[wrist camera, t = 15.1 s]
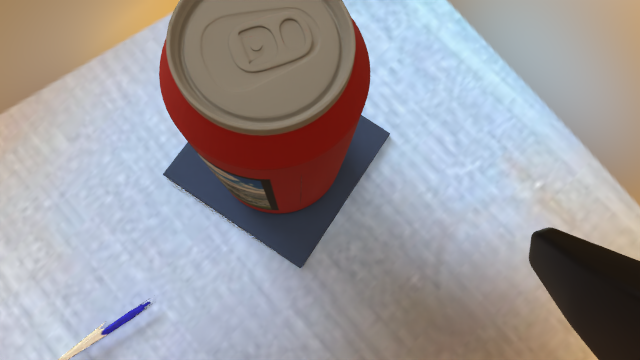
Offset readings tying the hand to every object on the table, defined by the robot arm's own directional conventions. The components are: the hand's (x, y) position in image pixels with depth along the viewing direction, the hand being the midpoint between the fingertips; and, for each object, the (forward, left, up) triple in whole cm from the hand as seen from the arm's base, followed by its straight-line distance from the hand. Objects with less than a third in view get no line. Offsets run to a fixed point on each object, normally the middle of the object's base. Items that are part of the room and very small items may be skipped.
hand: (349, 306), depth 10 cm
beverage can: (+6, -5, -13) cm, 15 cm away
